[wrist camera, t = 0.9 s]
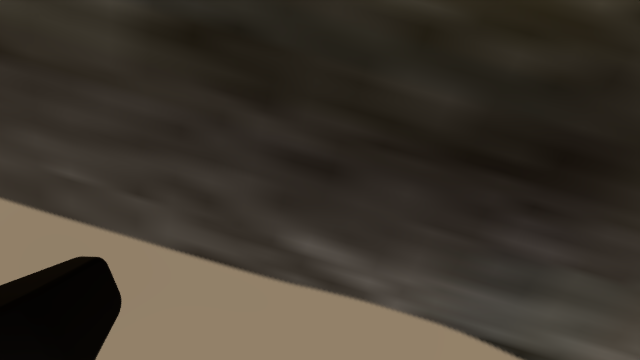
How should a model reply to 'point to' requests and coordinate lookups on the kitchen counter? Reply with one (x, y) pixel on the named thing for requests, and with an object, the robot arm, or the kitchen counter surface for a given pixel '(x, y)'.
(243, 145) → the kitchen counter surface
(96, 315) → the robot arm
